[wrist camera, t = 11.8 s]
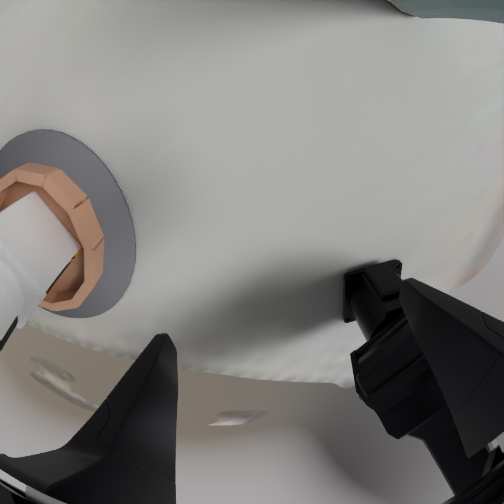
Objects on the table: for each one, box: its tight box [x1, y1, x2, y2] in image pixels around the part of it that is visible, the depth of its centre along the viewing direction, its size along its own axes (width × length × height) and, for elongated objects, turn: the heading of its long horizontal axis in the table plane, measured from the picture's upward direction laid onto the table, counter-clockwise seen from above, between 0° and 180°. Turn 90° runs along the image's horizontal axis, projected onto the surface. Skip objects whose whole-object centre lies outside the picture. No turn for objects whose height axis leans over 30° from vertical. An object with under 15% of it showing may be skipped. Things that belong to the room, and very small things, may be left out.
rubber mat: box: [0, 130, 136, 318], centre depth 20 cm, size 20×20×1 cm
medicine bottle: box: [0, 191, 82, 351], centre depth 14 cm, size 7×7×12 cm
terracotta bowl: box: [0, 162, 105, 311], centre depth 19 cm, size 14×14×2 cm
